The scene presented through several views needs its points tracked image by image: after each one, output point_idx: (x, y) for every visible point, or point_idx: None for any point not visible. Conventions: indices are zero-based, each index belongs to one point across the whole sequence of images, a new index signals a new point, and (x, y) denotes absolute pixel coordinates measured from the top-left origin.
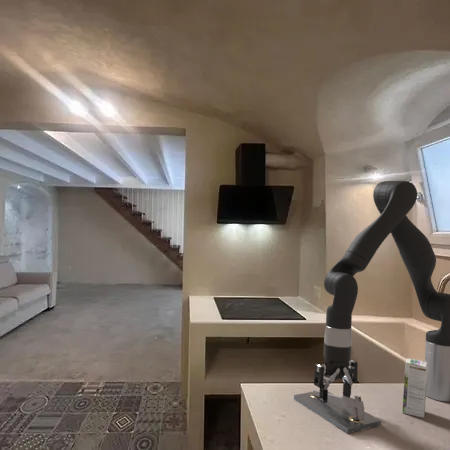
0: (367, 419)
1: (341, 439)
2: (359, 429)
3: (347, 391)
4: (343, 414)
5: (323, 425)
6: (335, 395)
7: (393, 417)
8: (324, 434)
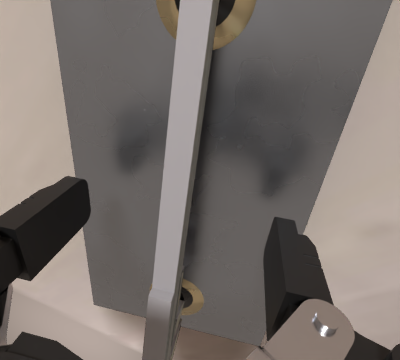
0: (219, 318)
1: (63, 293)
2: None
3: (268, 283)
4: None
5: None
6: (180, 221)
7: (379, 337)
8: None
